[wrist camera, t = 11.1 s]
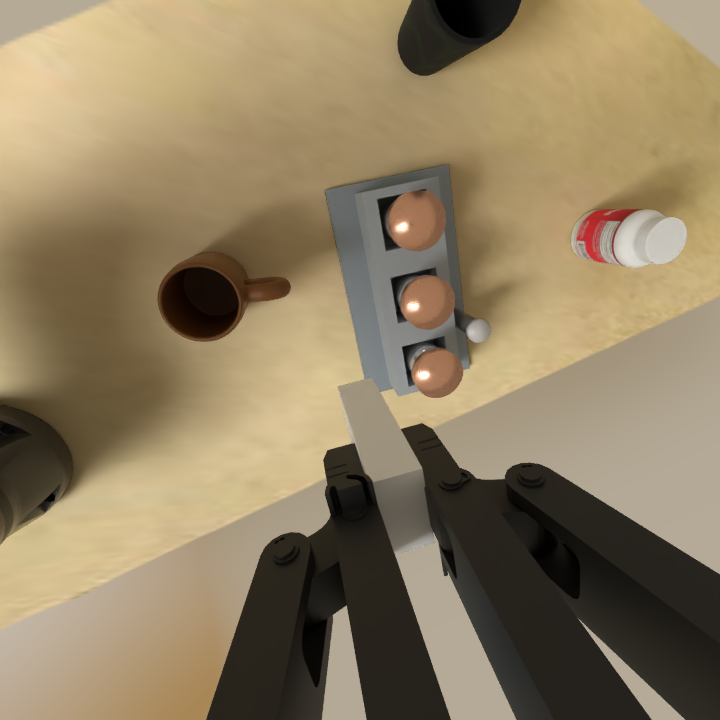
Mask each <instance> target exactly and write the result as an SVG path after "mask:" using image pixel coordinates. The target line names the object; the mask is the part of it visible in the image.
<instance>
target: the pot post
mask: <svg viewBox="0 0 720 720" xmlns="http://www.w3.org/2000/svg"><path fill="white" fill-rule="evenodd" d="M454 319H455V327H457V328H458V329H460V330H461V331H463V332H464V333H466V336H467V337H468V338H469V339H470V340H471V341H473V342H475V343H481V342H483V341H485V340H486V339H487V338H488V337H489V335H490V332H491V328H490V325H489V323H488V322H486V321H484V320H483V319H479V318H477V319H475V318H473V317H471V316H470V315H468V314H466V313H464V312H462V311H460V310H458V309H454Z"/></svg>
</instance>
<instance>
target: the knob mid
mask: <svg viewBox="0 0 720 720" xmlns="http://www.w3.org/2000/svg"><path fill="white" fill-rule="evenodd" d="M391 285H392V291H393V297H394V303H395V304H397V305H398V306H399V307H400V308H401V311H402V314H403V316H404V317H405V318H406V319H407V320H408V321H409V322H410V323H411V324H412V325H414V326H415V327H417V328H419V329H424V330H430V329H435V328H437V327H439V326H441V325H443V324H444V323H445V322H446V321H447V320H448V319H449V318H450V316H451V314H452V312H453V310H454V306H455V295H454V292H453V289H452V288H451V286H450V285H449V284H448V283H447V282H446V281H445V280H443V279H441V278H438V277H436V276H433V275H421V276H420V275H417V274H415V273H409V274H405V275H401V276H396V277H394V278H393V279H392V280H391Z"/></svg>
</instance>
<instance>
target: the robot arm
mask: <svg viewBox="0 0 720 720" xmlns="http://www.w3.org/2000/svg"><path fill="white" fill-rule="evenodd" d="M338 390H339V395H340V399H341V403H342V407H343V411H344V415H345V419H346V424H347V428H348V432H349V436H350V440H351V444H349V445H345V446H341V447H338V448H334V449H331V450H327V453H326V455H325V457H324V460H323V461H324V467H325V473H326V478H327V484H328V485H327V487H326V490H325V496H326V500H327V503H328V507H329V510H330V514H331V516H330V518H329V520H328V522H327V523H326V524H325V525H324V526H323V527H322V528H321V529H320V530H318V531H317V532H316V533H314V534H312V535H311V536H309V537H306V536H305V535H303V534H301V533H293V532H290V533H287V534H283V535H280V536H278V537H277V538H275V539H273V540H272V541H271V542H270V543H269V544H268V545H267V546H266V547H265V548H264V550H263V552H262V554H261V556H260V559H259V562H258V565H257V568H256V571H255V574H254V577H253V580H252V583H251V586H250V589H249V592H248V595H247V598H246V601H245V604H244V607H243V610H242V613H241V616H240V619H239V622H238V625H237V628H236V632H235V634H234V638H233V641H232V643H231V646H230V649H229V652H228V656H227V658H226V661H225V664H224V667H223V671H222V674H221V677H220V680H219V683H218V686H217V689H216V692H215V695H214V698H213V701H212V704H211V707H210V710H209V713H208V716H207V719H206V720H322V711H323V703H324V694H325V684H326V676H327V667H328V659H329V649H330V640H331V632H332V624H333V614H335V613H336V612H337V611H339V610H340V609H342V608H343V607H345V606H346V605H347V609H348V615H349V620H350V625H351V632H352V638H353V643H354V649H355V655H356V660H357V666H358V672H359V678H360V683H361V689H362V695H363V701H364V707H365V712H366V718H367V720H451V719H450V716H449V713H448V710H447V707H446V704H445V701H444V698H443V695H442V692H441V689H440V686H439V684H438V681H437V677H436V675H435V672H434V669H433V666H432V663H431V660H430V657H429V654H428V651H427V648H426V645H425V642H424V640H423V636H422V633H421V630H420V627H419V624H418V622H417V618H416V616H415V613H414V610H413V607H412V604H411V601H410V598H409V595H408V592H407V589H406V586H405V583H404V580H403V578H402V574H401V571H400V569H399V566H398V562H397V559H396V557H395V555H396V554H400V553H403V552H406V551H409V550H412V549H416V548H419V547H422V546H425V545H429V544H432V543H434V542H435V540H434V535H433V532H434V534H435V536H436V538H437V540H438V542H439V548H440V554H441V560H442V567H443V572H444V576H447V575H448V573H449V575H450V577H451V579H452V581H453V584H454V586H455V588H456V590H457V592H458V594H459V597H460V599H461V601H462V603H463V605H464V607H465V609H466V612H467V614H468V616H469V618H470V620H471V622H472V624H473V627H474V629H475V631H476V633H477V635H478V638H479V640H480V642H481V644H482V646H483V648H484V651H485V653H486V655H487V657H488V659H489V661H490V663H491V665H492V668H493V670H494V672H495V674H496V676H497V679H498V681H499V683H500V685H501V687H502V689H503V691H504V694H505V696H506V698H507V700H508V702H509V704H510V707H511V709H512V711H513V713H514V715H515V717H516V719H517V720H651V718H650V717H649V715H648V714H647V713H646V712H645V710H644V709H643V707H642V706H641V705H640V703H639V702H638V701H637V699H636V698H635V696H634V695H633V694H632V692H631V691H630V689H629V688H628V687H627V685H626V684H625V683H624V681H623V680H622V678H621V677H620V676H619V674H618V673H617V672H616V670H615V669H614V668H613V666H612V665H611V663H610V662H609V661H608V659H607V658H606V656H605V655H604V654H603V652H602V651H601V650H600V648H599V647H598V645H597V644H596V643H595V641H594V640H593V639H592V637H591V636H590V635H589V633H588V632H587V630H586V629H585V628H584V626H583V625H582V623H581V622H580V621H579V619H580V620H581V621H582V622H583V623H584V624H585V625H586V626H587V627H588V628H589V629H590V630H591V631H592V632H593V633H594V634H596V636H598V637H599V638H600V639H601V640H602V641H603V642H604V643H605V644H606V645H607V646H608V647H609V648H610V649H611V650H612V651H614V653H616V654H617V655H618V656H619V657H620V658H621V659H622V660H623V661H624V662H625V663H626V664H627V665H628V666H629V667H630V668H631V669H633V670H634V671H635V672H636V673H637V674H638V675H639V676H640V677H641V678H642V679H643V680H644V681H645V682H646V683H647V684H648V685H649V686H650V687H651V688H653V689H654V690H655V691H656V692H657V693H658V694H659V695H660V696H661V697H662V698H663V699H664V700H665V701H666V702H667V703H668V704H669V705H671V706H672V707H673V708H674V709H675V710H676V711H677V712H678V713H679V714H680V715H681V716H682V717H683V718H684V719H685V720H720V574H718V573H717V572H715V571H713V570H712V569H710V568H709V567H707V566H705V565H704V564H702V563H700V562H699V561H697V560H696V559H694V558H692V557H691V556H689V555H688V554H686V553H684V552H683V551H681V550H680V549H678V548H676V547H675V546H673V545H671V544H670V543H668V542H667V541H665V540H663V539H662V538H660V537H658V536H657V535H655V534H654V533H652V532H651V531H649V530H647V529H646V528H644V527H643V526H641V525H639V524H638V523H636V522H634V521H633V520H631V519H630V518H628V517H626V516H625V515H623V514H622V513H620V512H618V511H617V510H615V509H614V508H612V507H610V506H609V505H607V504H606V503H604V502H602V501H601V500H599V499H597V498H596V497H594V496H593V495H591V494H589V493H588V492H586V491H585V490H583V489H581V488H580V487H578V486H577V485H575V484H573V483H572V482H570V481H569V480H567V479H565V478H564V477H562V476H560V475H559V474H557V473H555V472H554V471H552V470H551V469H549V468H547V467H545V466H543V465H540V464H534V463H520V464H518V465H514V466H512V467H511V468H510V469H508V470H507V472H506V475H505V479H500V480H481V479H476V478H475V477H474V476H473V475H472V474H471V473H470V472H469V471H467V470H464V469H462V468H459V466H458V465H457V463H456V462H455V461H454V459H453V458H452V456H451V455H450V454H449V452H448V451H447V449H446V448H445V446H444V445H443V444H442V442H441V441H440V439H438V436H437V435H436V434H435V432H434V431H433V429H432V428H430V427H428V426H426V425H424V424H422V423H421V424H418V425H414V426H410V427H407V428H403V429H400V427H399V425H398V423H397V422H396V420H395V418H394V416H393V414H392V413H391V411H390V409H389V407H388V405H387V404H386V402H385V400H384V398H383V396H382V395H381V393H380V391H379V389H378V387H377V386H376V384H375V382H374V380H373V378H368V379H365V380H361V381H357V382H353V383H349V384H345V385H342V386H338ZM71 477H72V459H71V455H70V452H69V450H68V448H67V446H66V444H65V442H64V441H63V440H62V438H61V437H60V436H59V435H58V434H57V432H56V431H55V430H53V429H52V428H51V427H50V426H49V425H48V424H46V423H45V422H43V421H42V420H40V419H39V418H37V417H35V416H33V415H31V414H29V413H26V412H24V411H21V410H18V409H15V408H11V407H6V406H1V405H0V544H1V543H2V542H3V541H4V540H5V539H6V538H7V537H8V536H10V535H11V534H13V533H15V532H16V531H18V530H19V529H21V528H23V527H24V526H26V525H28V524H29V523H31V522H32V521H34V520H36V519H37V518H39V517H40V516H42V515H43V514H45V513H46V512H47V511H48V510H50V509H51V508H52V507H53V506H54V505H55V503H56V502H57V501H58V500H59V498H60V497H61V496H62V494H63V493H64V492H65V490H66V489H67V487H68V485H69V483H70V480H71ZM447 571H448V572H447ZM578 618H579V619H578Z"/></svg>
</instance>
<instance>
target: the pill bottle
mask: <svg viewBox="0 0 720 720" xmlns="http://www.w3.org/2000/svg"><path fill="white" fill-rule="evenodd" d="M686 238H687V229H686V226H685V224H684V223H683V221H682V220H680V219H678V218H676V217H665V216H664V215H662V214H661V213H660V212H658V211H655V210H650V209H607V210H606V209H604V210H602V209H601V210H593V211H590V212H588V213H586V214H585V215H583V216H582V217H581V218H580V219H579V220H578V221H577V223H576V224H575V226H574V228H573V231H572V234H571V246H572V249H573V251H574V253H575V254H576V255H577V256H578V257H579V258H581V259H584V260H588V261H594V262H601V263H607V264H613V265H620V266H626V267H633V268H638V267H643V266H646V265H648V264H650V263H651V264H665V263H668V262H670V261H672V260H673V259H674V258H676V257H677V256H678V255H679V253H680V252H681V251H682V249H683V247H684V245H685V242H686Z"/></svg>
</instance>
